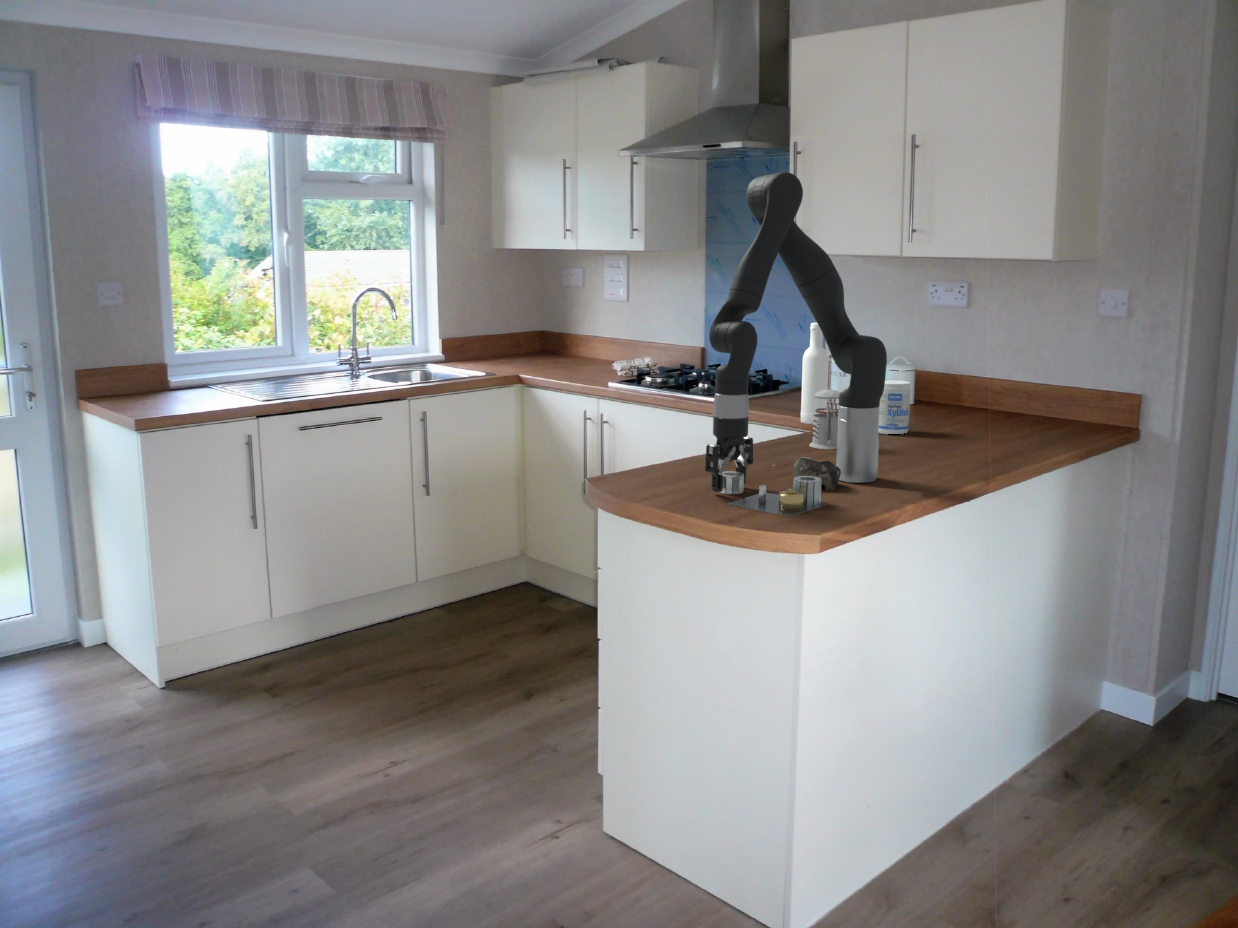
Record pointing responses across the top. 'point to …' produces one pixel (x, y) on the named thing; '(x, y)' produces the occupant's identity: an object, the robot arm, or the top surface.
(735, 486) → the planet gear
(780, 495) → the carrier
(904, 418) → the supplement tub
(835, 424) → the french press
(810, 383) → the bottle
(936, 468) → the top surface
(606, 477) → the top surface
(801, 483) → the grey hollow pipe
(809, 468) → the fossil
